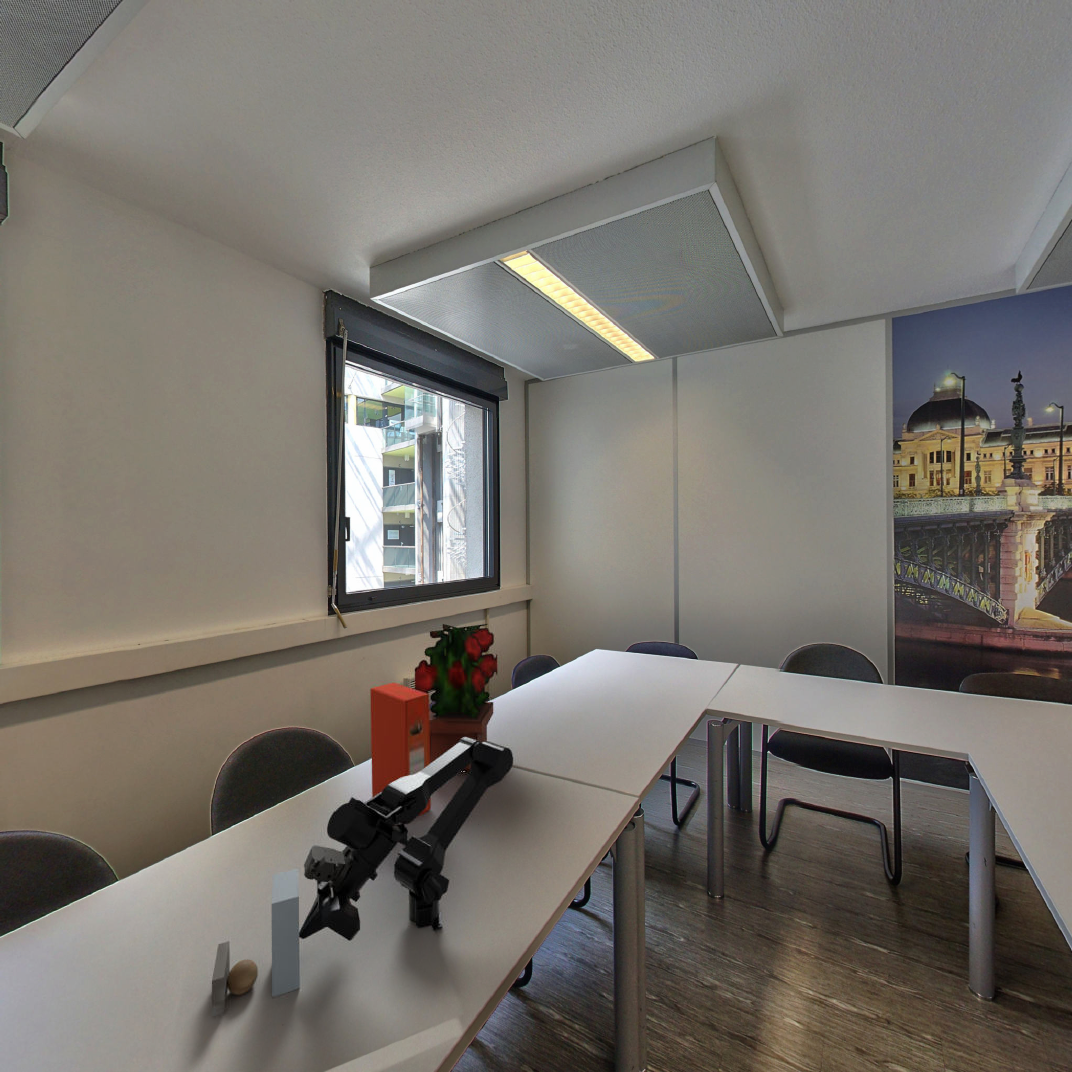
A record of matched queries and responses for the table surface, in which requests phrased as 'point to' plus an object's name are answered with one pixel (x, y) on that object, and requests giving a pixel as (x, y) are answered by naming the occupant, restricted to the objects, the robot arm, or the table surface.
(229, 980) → the walnut
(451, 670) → the potted plant
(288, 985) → the block
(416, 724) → the file binder
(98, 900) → the table surface
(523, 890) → the table surface
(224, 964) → the press bed
